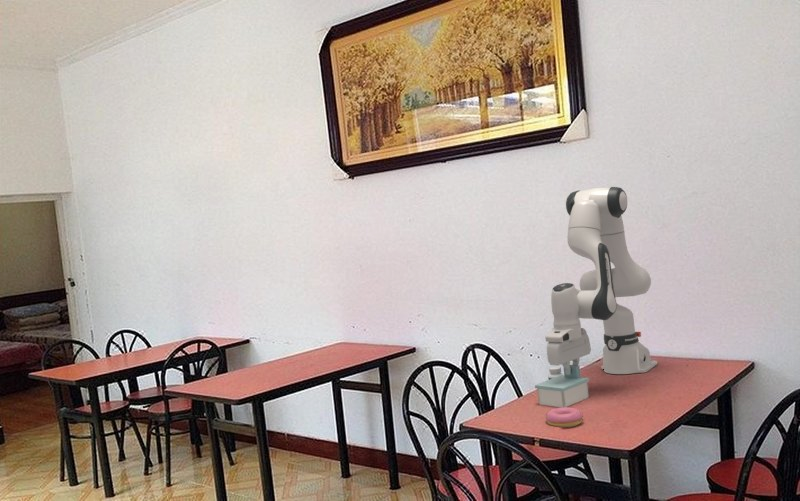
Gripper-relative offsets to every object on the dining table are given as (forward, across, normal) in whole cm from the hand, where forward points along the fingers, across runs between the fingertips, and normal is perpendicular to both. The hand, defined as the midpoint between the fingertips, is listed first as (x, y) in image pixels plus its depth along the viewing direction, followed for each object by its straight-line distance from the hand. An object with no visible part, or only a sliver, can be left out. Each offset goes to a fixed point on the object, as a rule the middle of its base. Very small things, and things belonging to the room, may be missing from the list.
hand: (572, 373), depth 238 cm
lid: (+2, +6, 0) cm, 6 cm away
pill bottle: (+9, -3, -9) cm, 13 cm away
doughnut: (+9, +25, +13) cm, 30 cm away
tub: (+8, +6, 0) cm, 10 cm away
